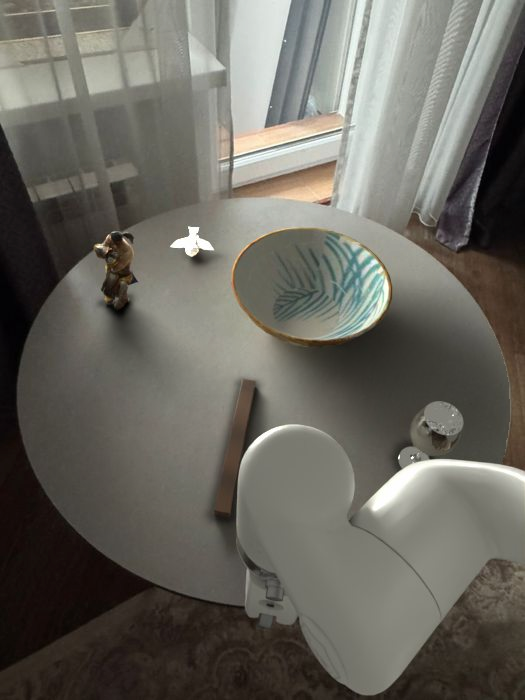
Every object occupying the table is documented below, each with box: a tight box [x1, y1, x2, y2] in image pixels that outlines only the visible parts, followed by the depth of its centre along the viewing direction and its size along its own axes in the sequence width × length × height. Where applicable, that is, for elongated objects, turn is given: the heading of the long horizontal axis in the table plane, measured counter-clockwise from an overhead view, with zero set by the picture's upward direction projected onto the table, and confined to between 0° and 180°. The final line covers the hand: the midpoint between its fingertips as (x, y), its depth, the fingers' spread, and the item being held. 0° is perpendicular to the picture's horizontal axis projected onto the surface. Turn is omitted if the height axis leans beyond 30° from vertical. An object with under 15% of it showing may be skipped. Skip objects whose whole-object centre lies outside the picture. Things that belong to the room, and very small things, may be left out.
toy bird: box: [169, 226, 215, 257], centre depth 91 cm, size 8×5×5 cm, turn 87°
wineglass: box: [397, 400, 464, 470], centre depth 64 cm, size 6×6×12 cm
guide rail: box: [213, 378, 256, 518], centre depth 69 cm, size 20×2×2 cm, turn 171°
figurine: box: [93, 230, 139, 311], centre depth 78 cm, size 7×6×15 cm
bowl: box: [230, 226, 393, 348], centre depth 82 cm, size 25×25×8 cm
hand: (268, 583), depth 55 cm, fingers closed
